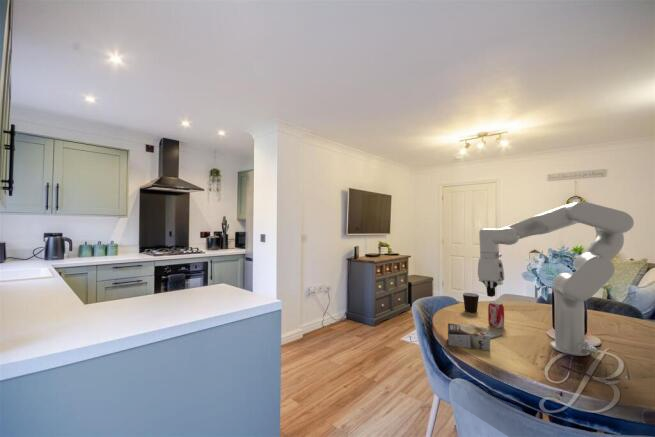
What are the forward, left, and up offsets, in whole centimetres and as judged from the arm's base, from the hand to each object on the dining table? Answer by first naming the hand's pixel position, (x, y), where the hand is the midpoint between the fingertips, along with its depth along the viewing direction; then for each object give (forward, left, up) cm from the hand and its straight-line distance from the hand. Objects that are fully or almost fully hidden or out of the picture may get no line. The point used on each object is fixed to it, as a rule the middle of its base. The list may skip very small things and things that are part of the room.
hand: (491, 296), depth 134 cm
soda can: (+9, -18, -20) cm, 28 cm away
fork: (-35, +2, -20) cm, 41 cm away
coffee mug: (+31, -28, -20) cm, 46 cm away
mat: (+8, 0, -19) cm, 21 cm away
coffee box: (-5, +9, -16) cm, 19 cm away
